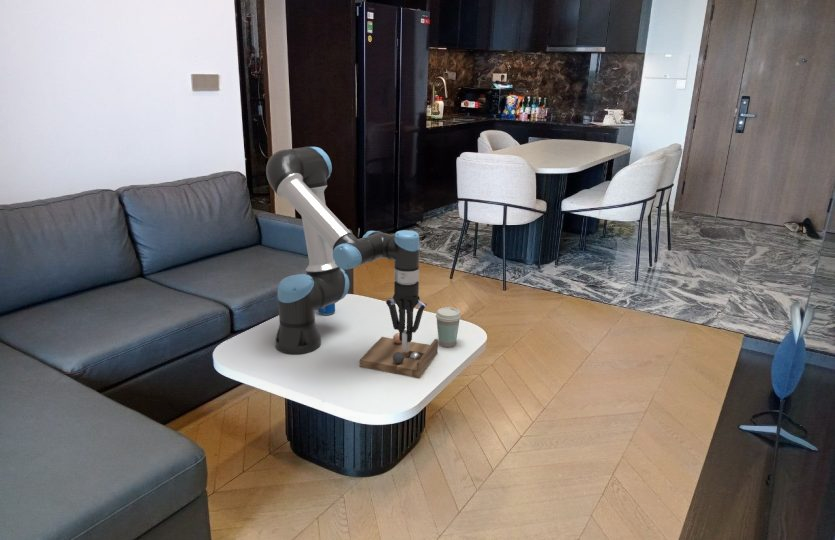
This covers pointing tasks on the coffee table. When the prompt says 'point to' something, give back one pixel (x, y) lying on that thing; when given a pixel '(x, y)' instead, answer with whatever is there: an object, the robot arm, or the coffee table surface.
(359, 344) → the coffee table surface
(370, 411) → the coffee table surface
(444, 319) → the coffee cup
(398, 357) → the black ball
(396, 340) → the clay ball
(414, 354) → the steel ball
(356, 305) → the coffee table surface
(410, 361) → the wooden board
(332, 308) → the beverage can
